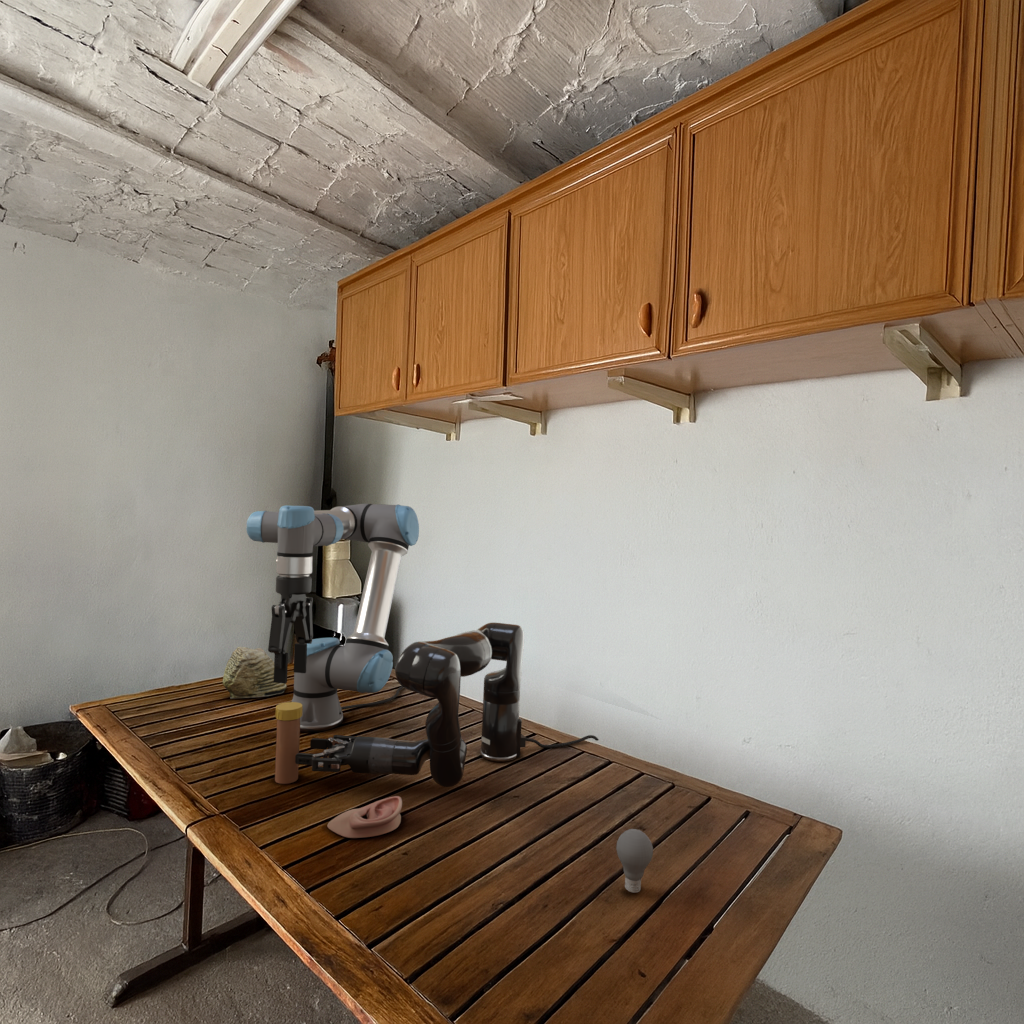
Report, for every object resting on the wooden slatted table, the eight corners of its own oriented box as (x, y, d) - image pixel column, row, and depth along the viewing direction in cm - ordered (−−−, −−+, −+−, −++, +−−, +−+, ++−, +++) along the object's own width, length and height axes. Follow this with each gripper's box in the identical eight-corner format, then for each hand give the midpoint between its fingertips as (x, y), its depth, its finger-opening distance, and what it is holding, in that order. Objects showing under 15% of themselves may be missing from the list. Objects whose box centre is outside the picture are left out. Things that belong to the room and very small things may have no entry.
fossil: (218, 695, 195) (220, 647, 195) (278, 685, 208) (279, 640, 207) (228, 703, 189) (230, 653, 188) (289, 692, 201) (290, 645, 201)
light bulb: (610, 879, 108) (613, 822, 108) (644, 879, 109) (647, 822, 109) (619, 902, 102) (622, 840, 102) (655, 901, 103) (658, 840, 103)
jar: (296, 783, 139) (299, 711, 139) (272, 784, 138) (275, 711, 138) (299, 773, 144) (302, 704, 144) (277, 774, 143) (279, 704, 143)
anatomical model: (320, 812, 119) (347, 786, 130) (319, 833, 119) (347, 805, 130) (386, 822, 116) (408, 795, 127) (385, 844, 116) (408, 814, 128)
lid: (300, 720, 139) (300, 710, 139) (272, 721, 138) (273, 710, 138) (304, 711, 144) (304, 701, 144) (277, 712, 143) (278, 702, 143)
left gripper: (301, 569, 151) (298, 664, 152) (251, 579, 131) (247, 688, 131) (331, 571, 150) (327, 667, 150) (285, 581, 130) (281, 692, 130)
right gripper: (384, 727, 147) (315, 722, 148) (366, 751, 133) (291, 746, 133) (383, 759, 147) (314, 754, 148) (365, 786, 133) (289, 781, 134)
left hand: (290, 677), depth 141 cm, fingers open, 8 cm apart
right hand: (303, 750), depth 141 cm, fingers open, 8 cm apart
